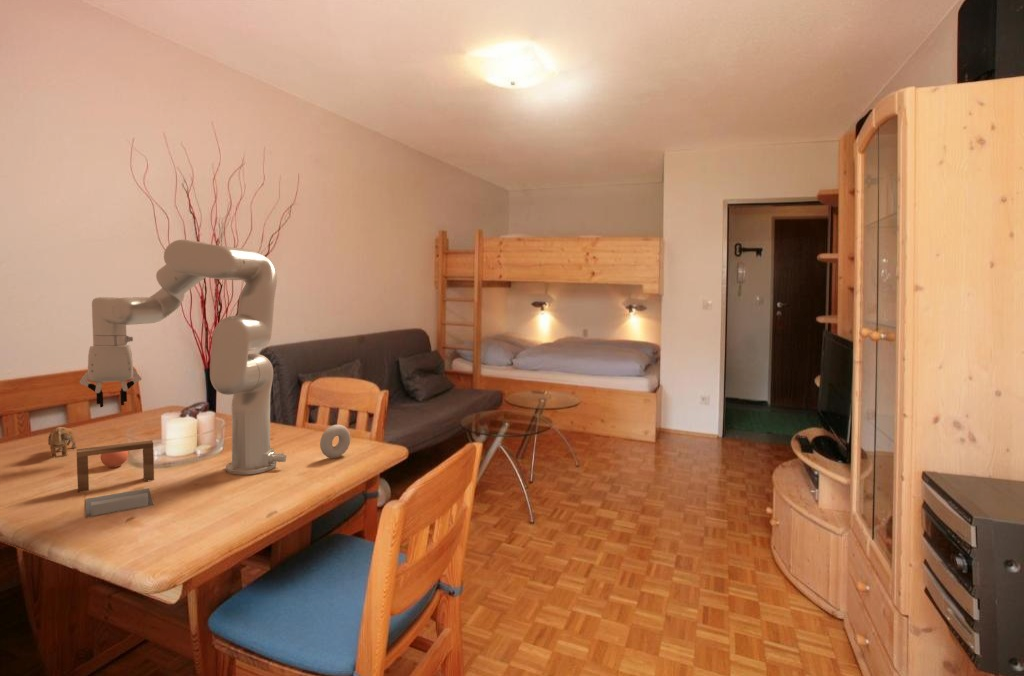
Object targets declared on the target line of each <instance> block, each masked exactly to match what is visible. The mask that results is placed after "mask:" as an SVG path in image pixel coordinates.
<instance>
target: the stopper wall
mask: <svg viewBox="0 0 1024 676" xmlns="http://www.w3.org/2000/svg"><path fill="white" fill-rule="evenodd" d="M142 506H147V507H149V506H148V493H143V494H137V495H131V496H125V497H120V498H114V499H108V500H102V501H97V502H91V515H92V516H93V517H95V516H94V515H99V514H104V515H106V514H105V513H110V512H115V513H117V512H116V511H120V512H122V511H121V510H126V509H131V510H133V509H132V508H136V509H138V508H137V507H142ZM142 508H143V507H142ZM126 511H127V510H126ZM110 514H111V513H110ZM99 516H100V515H99Z"/></svg>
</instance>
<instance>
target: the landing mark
mask: <svg viewBox="0 0 1024 676" xmlns="http://www.w3.org/2000/svg"><path fill="white" fill-rule="evenodd" d="M143 493H148V506H142V507H137V508H132V509H126V510H121V511H116V512H110V513H105V514H99V515H94V516H92V515H91V502H97V501H102V500H108V499H114V498H120V497H125V496H131V495H137V494H143ZM151 506H154V501H153V497H152V494H151V489H150V488H143V489H136V490H131V491H125V492H119V493H114V494H105V495H101V496H100V495H99V496H95V497H89V498H86V499H85V519H87V518H92V517H93V518H94V517H98V516H103V515H109V514H115V513H120V512H126V511H130V510H136V509H141V508H148V507H151Z"/></svg>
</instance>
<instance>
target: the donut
mask: <svg viewBox="0 0 1024 676" xmlns="http://www.w3.org/2000/svg"><path fill="white" fill-rule="evenodd" d="M335 437H338V441H337V444H336V445H335V446H333V440H334V439H335ZM319 441H320V443H319V446H320V447H319V448H320V450H321V452H322V454H323V455H324V456H325V457H327V458H330V459H336V457H337V458H339V457H341V456H342V455H344V454H345V453H346V452H347V450H348V449H349V447H350V443H351V434H350V431H349V429H348V428H347V427H346V426H344V425H342V424H333V425H330V426H328V428H326V429H325V430H324V432H323V433H322V435H321V437H320V440H319Z"/></svg>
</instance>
